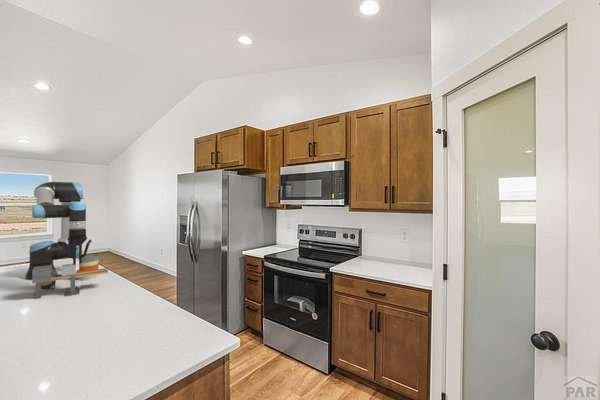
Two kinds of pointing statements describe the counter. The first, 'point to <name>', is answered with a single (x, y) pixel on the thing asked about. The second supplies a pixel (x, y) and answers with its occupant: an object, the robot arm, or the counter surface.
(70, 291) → the balance stand
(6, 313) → the counter surface
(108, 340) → the counter surface
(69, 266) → the block
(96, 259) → the reusable coffee cup
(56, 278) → the balance beam
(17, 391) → the counter surface
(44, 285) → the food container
